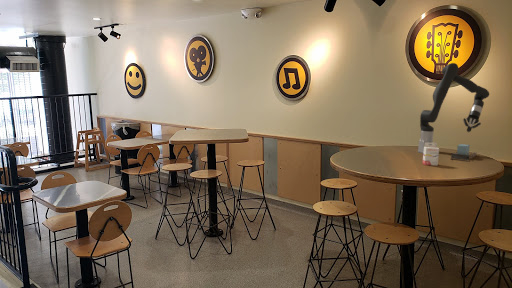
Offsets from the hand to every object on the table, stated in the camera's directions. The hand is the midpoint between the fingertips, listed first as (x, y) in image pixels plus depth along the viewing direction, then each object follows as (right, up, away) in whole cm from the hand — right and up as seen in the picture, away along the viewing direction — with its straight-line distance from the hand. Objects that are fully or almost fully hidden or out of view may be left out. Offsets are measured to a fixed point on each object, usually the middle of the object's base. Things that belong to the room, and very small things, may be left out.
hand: (468, 131), depth 296 cm
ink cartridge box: (-45, -24, -36) cm, 62 cm away
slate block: (-14, -19, -17) cm, 29 cm away
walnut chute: (-11, -20, -14) cm, 27 cm away
